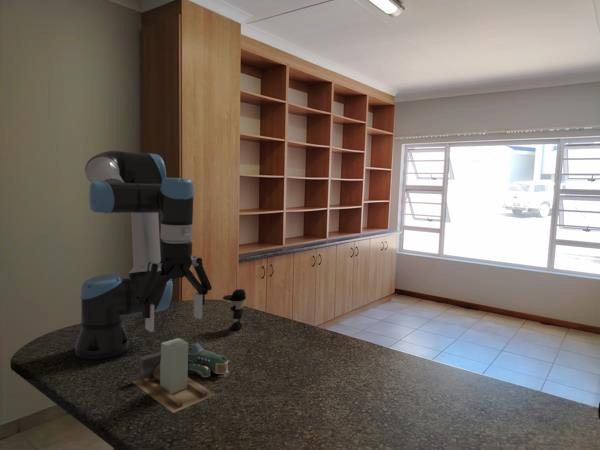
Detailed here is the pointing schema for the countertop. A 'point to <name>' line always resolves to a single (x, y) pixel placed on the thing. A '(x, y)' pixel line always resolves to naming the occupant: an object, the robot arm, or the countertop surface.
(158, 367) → the walnut
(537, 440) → the countertop surface
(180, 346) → the block
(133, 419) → the countertop surface
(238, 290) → the toy
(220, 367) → the hoverbike
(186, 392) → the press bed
